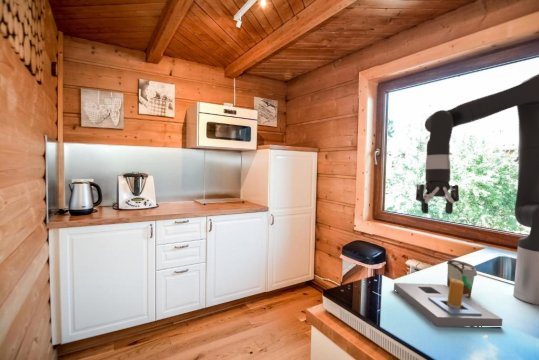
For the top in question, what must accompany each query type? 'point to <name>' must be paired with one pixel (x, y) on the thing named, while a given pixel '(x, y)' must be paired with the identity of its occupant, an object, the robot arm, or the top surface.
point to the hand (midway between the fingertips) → (436, 213)
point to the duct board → (445, 306)
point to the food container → (461, 275)
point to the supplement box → (455, 294)
